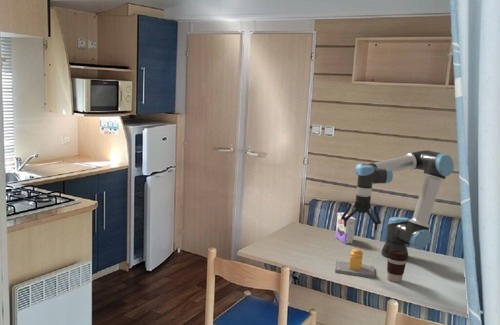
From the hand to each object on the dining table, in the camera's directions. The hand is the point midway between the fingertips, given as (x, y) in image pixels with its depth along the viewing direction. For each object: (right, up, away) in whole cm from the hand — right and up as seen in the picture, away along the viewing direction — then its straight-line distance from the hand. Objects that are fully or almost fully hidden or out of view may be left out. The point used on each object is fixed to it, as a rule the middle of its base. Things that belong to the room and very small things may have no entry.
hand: (359, 234), depth 255 cm
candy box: (+2, -12, +53) cm, 54 cm away
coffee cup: (+17, -23, -6) cm, 29 cm away
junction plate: (-2, -19, +3) cm, 20 cm away
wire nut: (-2, -18, +3) cm, 18 cm away
